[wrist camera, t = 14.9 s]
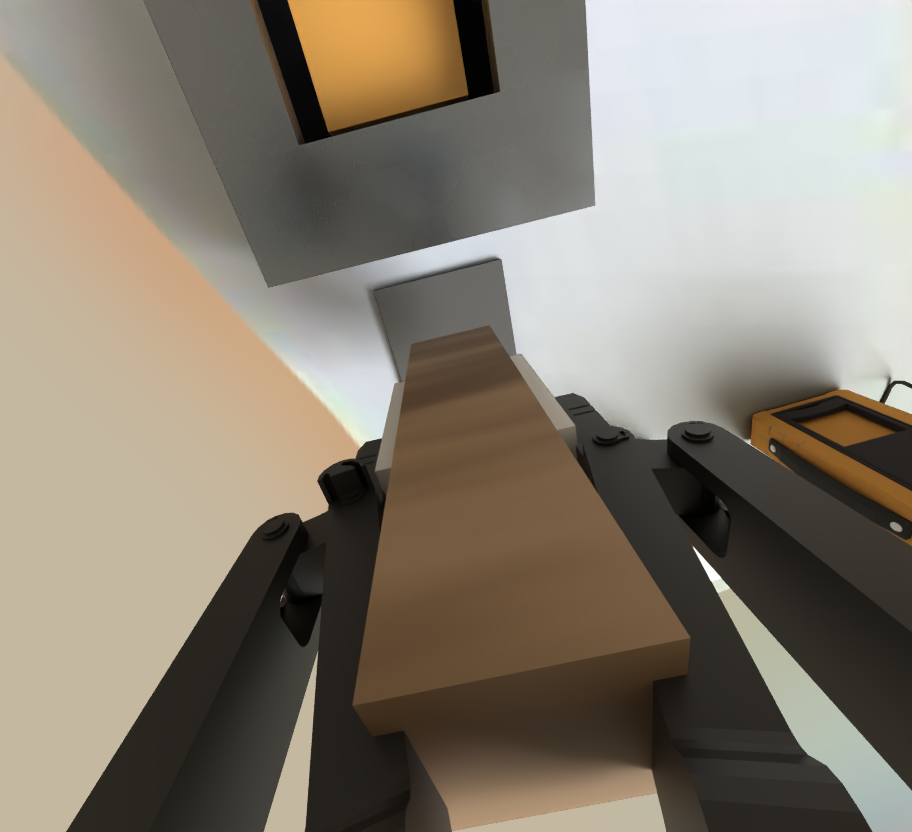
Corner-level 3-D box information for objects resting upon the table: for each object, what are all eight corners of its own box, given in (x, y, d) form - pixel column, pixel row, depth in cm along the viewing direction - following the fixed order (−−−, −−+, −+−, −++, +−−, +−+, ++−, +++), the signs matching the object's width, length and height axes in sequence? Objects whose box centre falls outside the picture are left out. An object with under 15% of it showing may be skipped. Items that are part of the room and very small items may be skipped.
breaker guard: (213, -74, 16) (-48, -439, 7) (483, -153, 16) (553, -647, 7) (331, 264, 23) (268, 287, 14) (527, 214, 22) (595, 205, 13)
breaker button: (319, 26, 17) (263, -77, 11) (431, -6, 17) (432, -127, 11) (357, 160, 19) (328, 132, 14) (456, 135, 19) (468, 94, 13)
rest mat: (374, 290, 23) (373, 291, 23) (500, 259, 23) (501, 259, 23) (409, 403, 27) (409, 406, 27) (519, 378, 27) (520, 380, 26)
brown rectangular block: (411, 343, 19) (352, 705, 4) (489, 325, 19) (690, 637, 4) (431, 413, 21) (435, 833, 6) (502, 397, 20) (677, 789, 6)
